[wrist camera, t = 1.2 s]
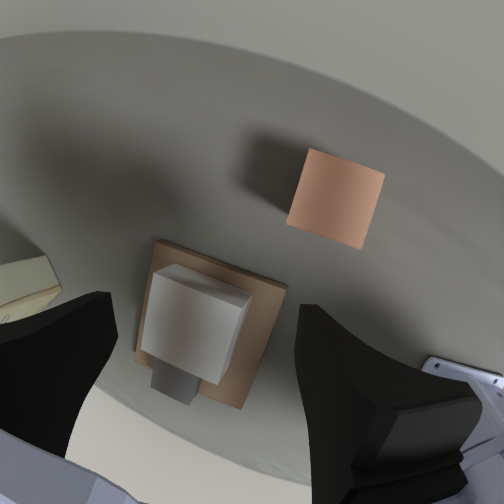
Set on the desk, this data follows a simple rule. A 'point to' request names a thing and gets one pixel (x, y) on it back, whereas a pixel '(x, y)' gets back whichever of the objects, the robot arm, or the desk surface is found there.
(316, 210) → the terracotta block
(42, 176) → the desk surface
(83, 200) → the desk surface
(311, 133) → the desk surface
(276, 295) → the plate
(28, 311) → the skincare box
